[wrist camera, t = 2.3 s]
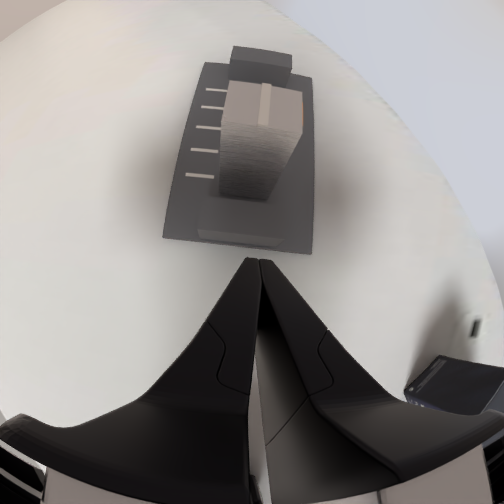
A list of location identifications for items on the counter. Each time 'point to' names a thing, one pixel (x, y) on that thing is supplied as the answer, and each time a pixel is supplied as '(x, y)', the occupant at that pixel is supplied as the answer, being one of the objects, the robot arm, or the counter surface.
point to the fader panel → (208, 160)
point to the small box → (459, 389)
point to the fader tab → (257, 137)
